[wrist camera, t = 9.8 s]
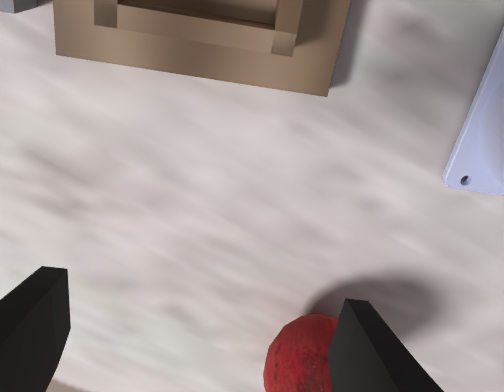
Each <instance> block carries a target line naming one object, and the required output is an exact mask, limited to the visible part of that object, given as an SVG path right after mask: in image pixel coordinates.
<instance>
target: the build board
mask: <svg viewBox="0 0 504 392" xmlns="http://www.w3.org/2000/svg"><path fill="white" fill-rule="evenodd" d="M350 2H351V0H53V8H54V26H55V44H56V55H60V56H67V57H73V58H79V59H86V60H92V61H99V62H105V63H112V64H118V65H124V66H131V67H137V68H144V69H150V70H157V71H163V72H169V73H176V74H182V75H189V76H195V77H201V78H208V79H214V80H221V81H227V82H234V83H240V84H246V85H253V86H259V87H266V88H272V89H279V90H285V91H291V92H298V93H304V94H311V95H317V96H324V97H327V96H328V92H329V88H330V83H331V79H332V75H333V71H334V67H335V63H336V59H337V55H338V51H339V47H340V43H341V39H342V35H343V30H344V26H345V22H346V18H347V14H348V10H349V6H350Z"/></svg>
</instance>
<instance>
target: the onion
mask: <svg viewBox="0 0 504 392" xmlns="http://www.w3.org/2000/svg"><path fill="white" fill-rule="evenodd" d="M338 320H339V318H336V317H332V316H327V315H321V314H313V315H306V316H301V317H299V318H297V319H296V320H294V321H292V322H290V323H289V324H287V325H285V326H284V327H283V329H282V330H281V331H280V333H279V334H278V335H277V337H276V338H275V339H274V341H273V342H272V343H271V345H270V346H269V349H268V353H267V357H266V362H265V367H264V373H263V377H264V387H265V390H266V392H332V390H331V382H330V374H329V364H328V353H327V352H328V349H329V346H330V343H331V341H332V338H333V335H334V332H335V329H336V326H337V323H338Z"/></svg>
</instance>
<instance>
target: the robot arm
mask: <svg viewBox="0 0 504 392" xmlns="http://www.w3.org/2000/svg"><path fill="white" fill-rule="evenodd" d="M464 176H468V178H467V179H466V180H465V181H463V182H460V180H461V179H462V177H464ZM442 179H443V182H444V183H445V184H446V185H447V186H448V187H450V188H455V189H462V190H469V191H476V192H483V193H490V194H497V195H504V27H503V29H502V32H501V34H500V37H499V39H498V42H497V44H496V46H495V49H494V51H493V54H492V56H491V59H490V61H489V63H488V66H487V68H486V71H485V73H484V76H483V78H482V80H481V83H480V85H479V88H478V90H477V93H476V95H475V98H474V100H473V102H472V105H471V107H470V110H469V112H468V115H467V117H466V119H465V122H464V124H463V127H462V129H461V132H460V134H459V136H458V139H457V141H456V144H455V146H454V149H453V151H452V153H451V156H450V158H449V161H448V163H447V166H446V168H445V171H444V173H443V176H442ZM70 329H71V326H70V308H69V290H68V271H67V269H64V268H54V267H45V266H42V267H41V268H39V269H38V270H37V271H35V272H34V273H33V274H32V275H30V276H29V277H28V278H27V279H25V280H24V281H23V282H22V283H21V284H19V285H18V286H17V287H16V288H14V289H13V290H12V291H11V292H10V293H8V294H7V295H6V296H5V297H3V298H2V299H1V300H0V392H46V389H47V387H48V385H49V383H50V381H51V379H52V377H53V375H54V373H55V371H56V369H57V366H58V364H59V361H60V358H61V355H62V352H63V350H64V347H65V344H66V341H67V338H68V335H69V332H70ZM327 353H328V364H329V374H330V382H331V390H332V392H444V391H443V390H442V389H441V388H440V387H439V386H438V385H437V384H436V383H435V381H434V380H433V379H432V378H431V377H430V376H429V375H428V374H427V372H426V371H425V370H424V369H423V368H422V367H421V366H420V364H419V363H418V362H417V361H416V360H415V358H414V357H413V356H412V355H411V354H410V353H409V351H408V350H407V349H406V348H405V346H404V345H403V344H402V343H401V342H400V340H399V339H398V338H397V337H396V335H395V334H394V333H393V332H392V330H391V329H390V328H389V327H388V325H387V324H386V323H385V321H384V320H383V319H382V318H381V316H380V315H379V314H378V313H377V311H376V310H375V309H374V308H373V306H372V305H371V304H370V303H369V302H368V301H364V300H354V299H346V300H345V302H344V305H343V308H342V311H341V314H340V317H339V320H338V323H337V326H336V329H335V332H334V335H333V338H332V341H331V343H330V346H329V349H328V352H327Z"/></svg>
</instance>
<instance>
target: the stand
mask: <svg viewBox="0 0 504 392" xmlns="http://www.w3.org/2000/svg"><path fill="white" fill-rule="evenodd" d="M36 7H38V4H37V0H0V11H2V12H8V13H14V14H15V13H18V12H22V11H26V10H29V9H33V8H36Z"/></svg>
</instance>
